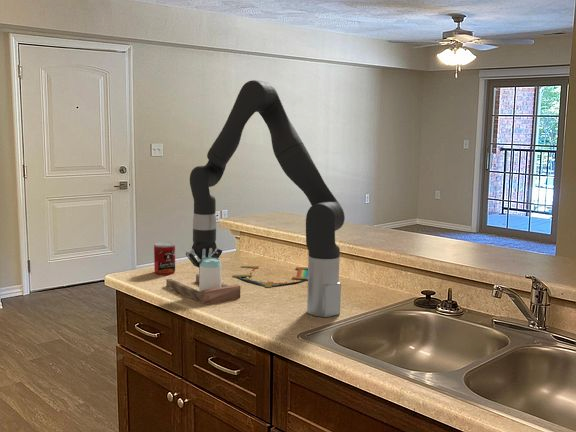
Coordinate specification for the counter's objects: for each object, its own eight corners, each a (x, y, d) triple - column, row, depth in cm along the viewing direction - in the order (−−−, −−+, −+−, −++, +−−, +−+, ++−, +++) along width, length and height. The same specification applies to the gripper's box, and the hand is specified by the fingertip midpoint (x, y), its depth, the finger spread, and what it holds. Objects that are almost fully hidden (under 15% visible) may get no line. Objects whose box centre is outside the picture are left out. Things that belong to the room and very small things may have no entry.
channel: (240, 297, 199) (240, 285, 198) (205, 304, 191) (205, 291, 190) (199, 280, 219) (199, 269, 218) (166, 286, 211) (166, 274, 210)
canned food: (158, 276, 225) (158, 246, 223) (151, 271, 232) (151, 242, 230) (178, 273, 229) (178, 244, 227) (171, 269, 235) (170, 241, 234)
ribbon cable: (308, 290, 210) (314, 269, 239) (308, 287, 210) (314, 266, 239) (224, 288, 213) (240, 267, 242) (224, 285, 213) (240, 264, 242)
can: (225, 295, 201) (226, 259, 199) (210, 300, 195) (211, 263, 193) (209, 290, 205) (209, 255, 203) (194, 295, 199) (195, 259, 197)
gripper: (192, 230, 193) (191, 284, 196) (228, 227, 201) (227, 278, 204) (180, 226, 199) (180, 279, 202) (215, 223, 207) (215, 273, 210)
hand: (204, 278), depth 203 cm, fingers closed
